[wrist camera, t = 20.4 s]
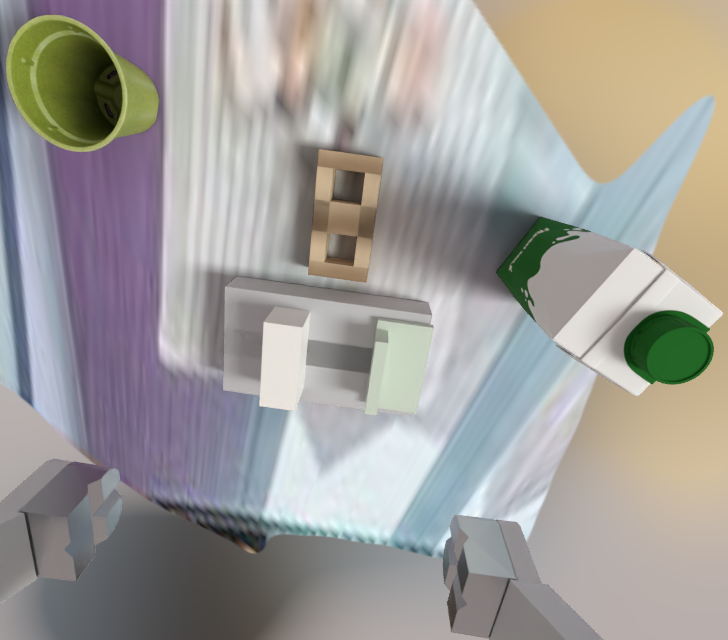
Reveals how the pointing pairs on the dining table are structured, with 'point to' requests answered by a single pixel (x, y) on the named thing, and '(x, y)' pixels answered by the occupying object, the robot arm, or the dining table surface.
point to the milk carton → (611, 306)
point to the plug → (284, 357)
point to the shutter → (397, 365)
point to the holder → (343, 215)
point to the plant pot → (76, 85)
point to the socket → (311, 337)
